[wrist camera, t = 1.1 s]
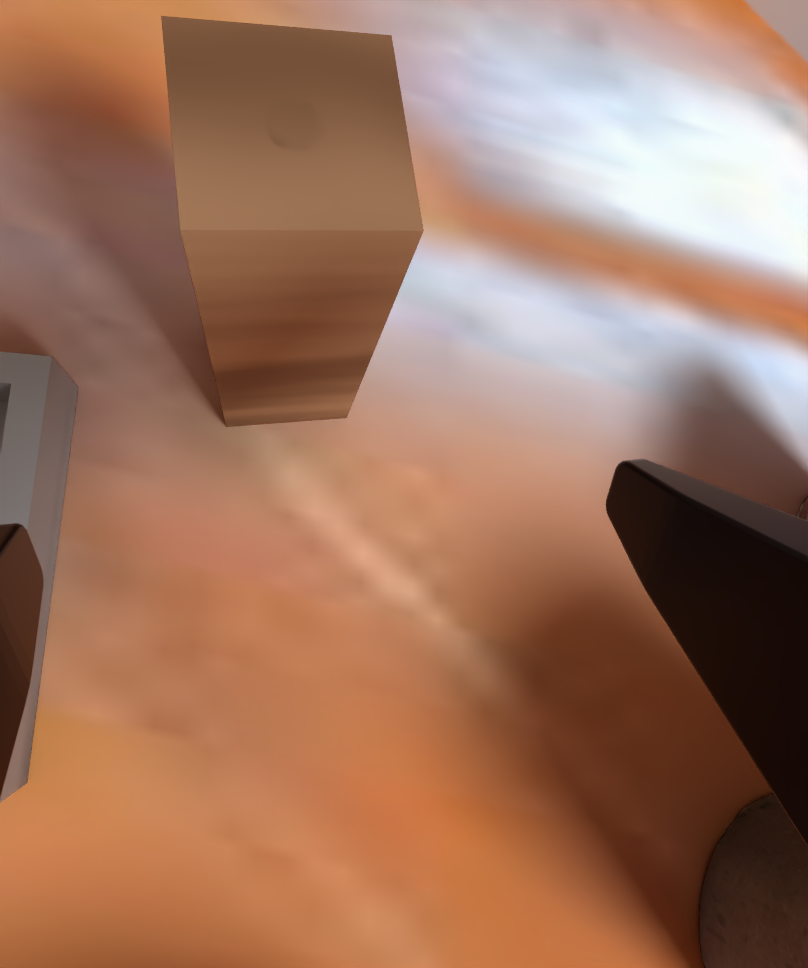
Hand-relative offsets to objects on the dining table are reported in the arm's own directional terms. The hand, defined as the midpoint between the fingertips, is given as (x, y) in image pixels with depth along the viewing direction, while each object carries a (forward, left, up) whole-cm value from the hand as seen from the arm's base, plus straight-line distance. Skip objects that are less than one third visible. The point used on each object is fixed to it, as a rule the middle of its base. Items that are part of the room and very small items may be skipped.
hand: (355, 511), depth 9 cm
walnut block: (+8, +1, -13) cm, 15 cm away
